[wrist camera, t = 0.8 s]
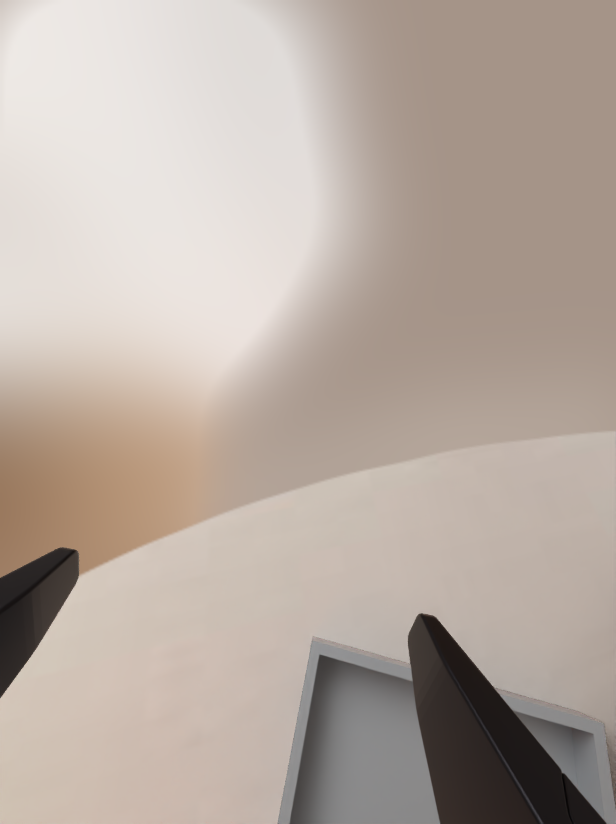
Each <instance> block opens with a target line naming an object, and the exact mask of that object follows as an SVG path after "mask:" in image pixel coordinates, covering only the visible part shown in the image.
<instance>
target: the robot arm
mask: <svg viewBox="0 0 616 824" xmlns="http://www.w3.org/2000/svg"><path fill="white" fill-rule="evenodd" d="M78 576H79V553H78V551H77V550H74V549H69V548H63V547H62V548H58V549H55V550H54V551H52V552H50V553H48V554H46V555H44V556H42V557H40V558H38V559H36V560H34V561H32V562H30V563H28V564H26V565H24V566H23V567H21V568H19V569H17V570H15V571H13V572H11V573H9V574H7V575H5V576H3V577H1V578H0V698H1V697H2V695H3V694H4V692H5V691H6V690H7V688H8V687H9V686H10V684H11V683H12V682H13V680H14V679H15V677H16V676H17V675H18V673H19V672H20V671H21V669H22V668H23V667H24V665H25V664H26V662H27V661H28V660H29V658H30V657H31V655H32V654H33V652H34V651H35V650H36V648H37V647H38V645H39V643H40V642H41V640H42V639H43V637H44V635H45V634H46V632H47V630H48V629H49V627H50V626H51V624H52V622H53V621H54V619H55V617H56V616H57V614H58V612H59V611H60V609H61V607H62V606H63V604H64V602H65V601H66V599H67V597H68V596H69V594H70V593H71V591H72V589H73V588H74V586H75V584H76V582H77V580H78ZM408 648H409V656H410V664H411V672H412V680H413V689H414V697H415V704H416V711H417V716H418V722H419V727H420V731H421V736H422V741H423V745H424V750H425V755H426V760H427V764H428V769H429V774H430V779H431V783H432V788H433V793H434V797H435V802H436V807H437V812H438V816H439V821H440V824H607V823H606V822H605V821H604V820H603V818H602V817H601V816H600V815H599V814H598V812H597V811H596V810H595V809H594V808H593V807H592V805H591V804H590V803H589V802H588V801H587V799H586V798H585V797H584V796H583V795H582V794H581V792H580V791H579V790H578V789H577V787H576V786H575V785H574V784H573V783H572V781H571V780H570V779H569V778H568V777H567V775H566V774H565V773H562V771H561V768H560V767H559V766H558V765H557V763H556V762H555V761H554V760H553V759H552V757H551V756H550V755H549V754H548V753H547V751H546V750H545V749H544V748H543V746H542V745H541V744H540V743H539V742H538V740H537V739H536V738H535V737H534V736H533V734H532V733H531V732H530V731H529V730H528V728H527V727H526V726H525V725H524V723H523V722H522V721H521V720H520V719H519V717H518V716H517V715H516V714H515V713H514V711H513V710H512V709H511V708H510V707H509V705H508V704H507V703H506V702H505V700H504V699H503V698H502V697H501V696H500V694H499V693H498V692H497V691H496V690H495V688H494V687H493V686H492V685H491V683H490V682H489V681H488V680H487V679H486V677H485V676H484V675H483V674H482V673H481V671H480V670H479V669H478V668H477V667H476V665H475V664H474V663H473V662H472V660H471V659H470V658H469V657H468V656H467V654H466V653H465V652H464V651H463V650H462V648H461V647H460V646H459V645H458V644H457V642H456V641H455V640H454V639H453V637H452V636H451V635H450V634H449V633H448V631H447V630H446V629H445V628H444V627H443V625H442V624H441V623H440V622H439V621H438V619H437V618H436V617H434V616H432V615H428V614H422V613H421V614H419V615H418V616H417V617H416V619H415V622H414V624H413V626H412V628H411V630H410V632H409V635H408Z"/></svg>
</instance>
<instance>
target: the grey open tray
mask: <svg viewBox="0 0 616 824" xmlns="http://www.w3.org/2000/svg"><path fill="white" fill-rule="evenodd" d="M495 690H496V691H497V692H498V693H499V694H500V696H501V697H502V698H503V699H504V700H505V702H506V703H507V704H508V705H509V707H510V708H511V709H512V710H513V711H514V713H515V714H516V715H517V716H518V717H519V719H520V720H521V721H522V722H523V723H524V725H525V726H526V727H527V728H528V730H529V731H530V732H531V733H532V734H533V736H534V737H535V738H536V739H537V740H538V742H539V743H540V744H541V745H542V746H543V748H544V749H545V750H546V751H547V753H548V754H549V755H550V756H551V757H552V759H553V760H554V761H555V762H556V763H557V765H558V766H559V767H560V768H561V771H562V773H565V774H566V775H567V777H568V778H569V779H570V780H571V781H572V783H573V784H574V785H575V786H576V787H577V789H578V790H579V791H580V792H581V794H582V795H583V796H584V797H585V798H586V799H587V801H588V802H589V803H590V804H591V805H592V807H593V808H594V809H595V810H596V811H597V812H598V814H599V815H600V816H601V817H602V818H603V820H604V821H605V822H606V823H607V824H616V808H615V801H614V793H613V786H612V779H611V772H610V765H609V758H608V750H607V743H606V736H605V729H604V723H602V722H600V721H598V720H595V719H593V718H591V717H589V716H587V715H585V714H582V713H580V712H578V711H575V710H571V709H568V708H564V707H561V706H557V705H554V704H550V703H547V702H543V701H540V700H536V699H533V698H529V697H526V696H522V695H518V694H515V693H511V692H508V691H504V690H501V689H497V688H495ZM277 824H440V821H439V816H438V812H437V807H436V802H435V797H434V793H433V788H432V783H431V779H430V774H429V769H428V764H427V760H426V755H425V750H424V745H423V741H422V736H421V731H420V727H419V722H418V716H417V711H416V704H415V697H414V689H413V680H412V672H411V664H409V663H406V662H402V661H398V660H395V659H391V658H388V657H384V656H381V655H377V654H374V653H370V652H367V651H363V650H360V649H356V648H353V647H349V646H345V645H342V644H338V643H335V642H331V641H328V640H324V639H321V638H317V637H314V636H313V638H312V643H311V648H310V654H309V659H308V664H307V670H306V675H305V680H304V686H303V691H302V696H301V701H300V707H299V712H298V717H297V723H296V728H295V733H294V739H293V744H292V749H291V755H290V760H289V765H288V770H287V776H286V781H285V786H284V792H283V797H282V802H281V808H280V813H279V818H278V823H277Z"/></svg>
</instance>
